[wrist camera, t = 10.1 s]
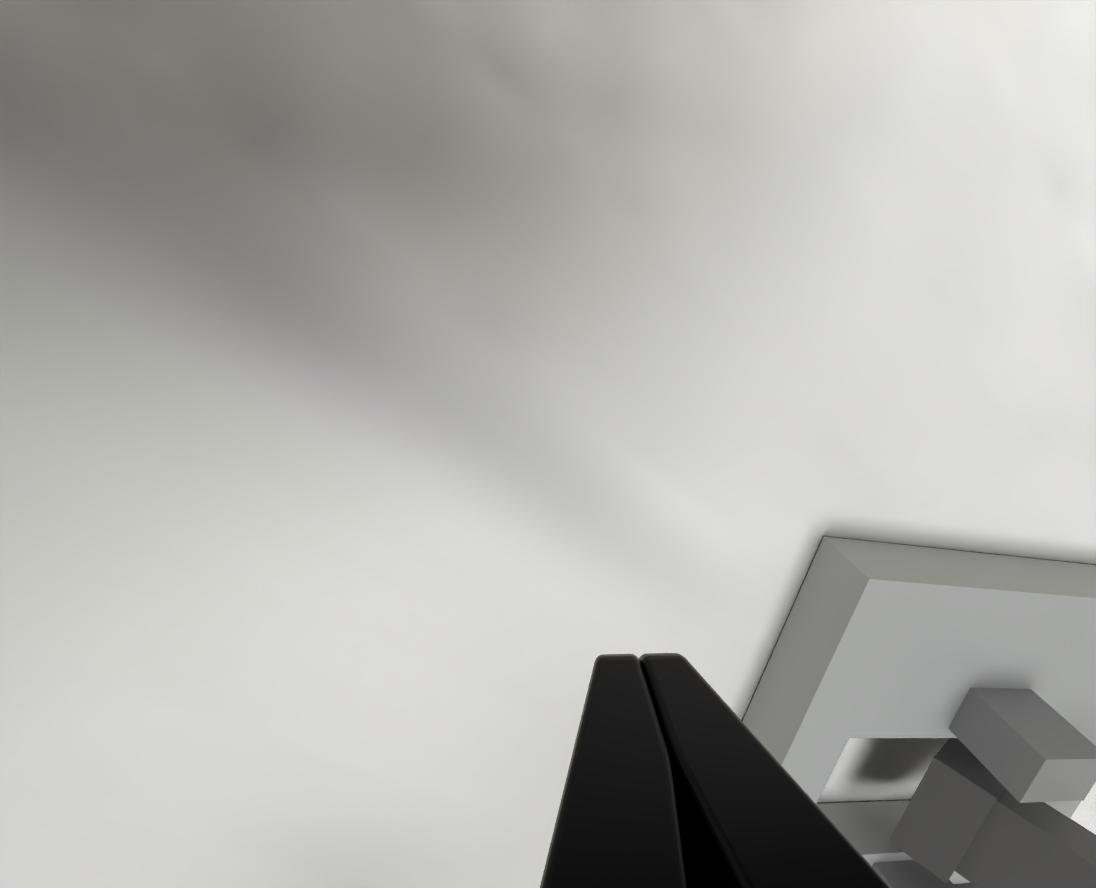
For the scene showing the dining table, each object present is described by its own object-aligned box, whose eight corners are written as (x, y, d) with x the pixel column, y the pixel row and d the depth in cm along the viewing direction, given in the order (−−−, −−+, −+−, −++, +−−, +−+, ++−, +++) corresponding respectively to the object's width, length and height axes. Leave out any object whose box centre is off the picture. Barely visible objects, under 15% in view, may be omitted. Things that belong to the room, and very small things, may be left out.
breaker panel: (653, 923, 31) (720, 1076, 27) (823, 536, 25) (945, 649, 21) (949, 896, 36) (1047, 1021, 32) (1147, 570, 31) (1299, 667, 26)
